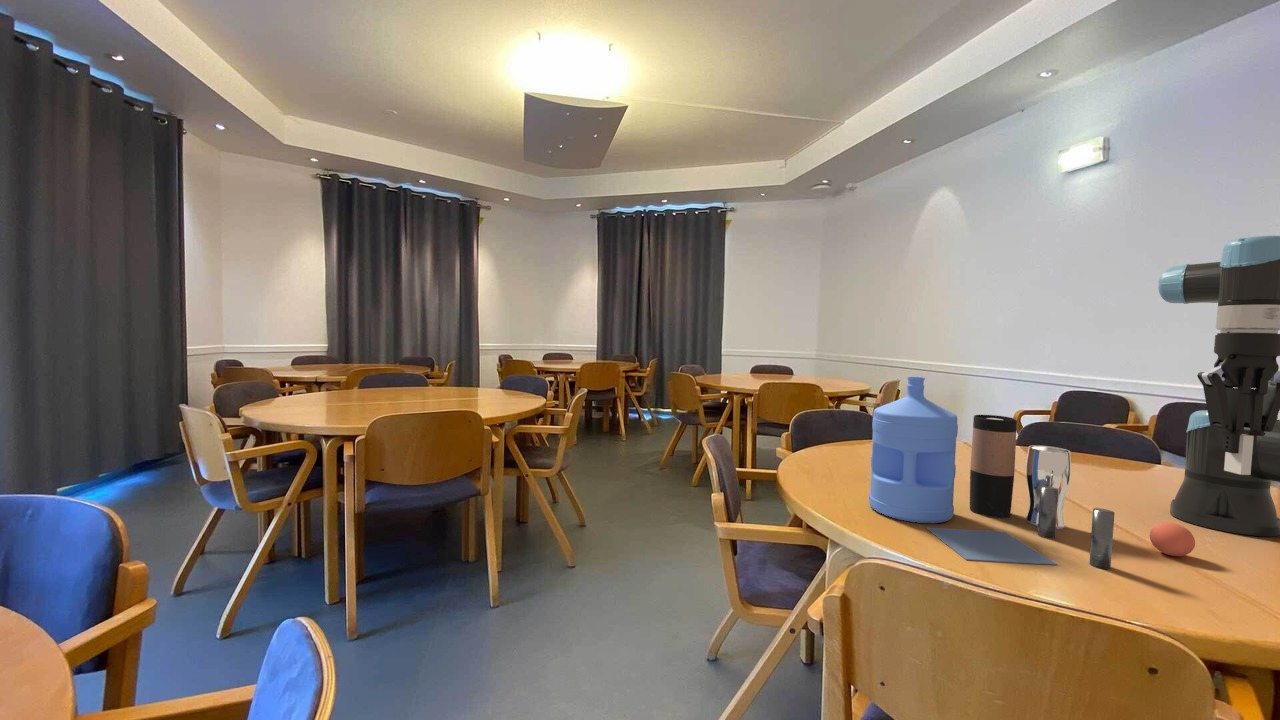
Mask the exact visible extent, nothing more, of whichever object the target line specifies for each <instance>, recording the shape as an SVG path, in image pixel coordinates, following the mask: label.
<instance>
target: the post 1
mask: <svg viewBox="0 0 1280 720" xmlns="http://www.w3.org/2000/svg"><path fill="white" fill-rule="evenodd" d="M1057 502H1058V489H1057V488H1054V487H1049V486H1041V487H1040V503H1039V519H1038V527H1037V536H1039V537H1041V538H1043V539H1044V538H1045V539H1051V540H1054V539H1056V533H1057V530H1056V518H1057Z"/></svg>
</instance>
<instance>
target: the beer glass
mask: <svg viewBox="0 0 1280 720" xmlns="http://www.w3.org/2000/svg"><path fill="white" fill-rule="evenodd" d="M1027 448H1028V449H1027V456H1026V462H1025V480H1026V486H1027V487H1026V488H1027V493H1028V508H1027V512H1026V514H1025V515H1026V516H1025V522H1026V523H1027V524H1029V525H1031V526H1034V527H1037V528H1038V519H1039V503H1040V487H1041V486H1049V487H1054V488H1057V489H1058V502H1057V518H1056V531H1057V530H1063V529H1064V528H1065V521H1064V513H1063V509H1064V503H1065V500H1066V497H1067V493H1068V490H1069V486H1070V481H1071V474H1072V473H1071V472H1072V471H1071V470H1072V469H1071V468H1072V461H1071V460H1072V459H1071V451H1070V450H1068V449H1066V448H1061V447H1056V446H1048V445H1035V444H1034V445H1029V446H1028V447H1027Z"/></svg>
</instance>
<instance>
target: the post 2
mask: <svg viewBox="0 0 1280 720" xmlns="http://www.w3.org/2000/svg"><path fill="white" fill-rule="evenodd" d="M1091 522H1092V523H1091V532H1090V533H1091V534H1090V549H1089V551H1090V552H1089V565H1090V566H1092V567H1094V568H1097V569H1101V570H1111V567H1112V556H1113V555H1112V554H1113V543H1114V542H1113V541H1114V540H1113V539H1114V525H1115V512H1114V511H1113V510H1110V509H1106V508H1100V507H1093V508H1092V517H1091Z"/></svg>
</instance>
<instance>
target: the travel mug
mask: <svg viewBox="0 0 1280 720" xmlns="http://www.w3.org/2000/svg"><path fill="white" fill-rule="evenodd" d="M972 421H973V424H972V436H971V437H972V439H971V440H972V441H971V452H970V454H971V455H970V468H969V469H970V471H969V510H970V511H971V512H972V513H974V514H977V515H981V516H984V517H990V518H996V519H997V518H998V519H1006V518H1010V517H1011V512H1012V511H1011V510H1012V502H1013V493H1014V492H1013V491H1014V483H1015V482H1014V481H1015V470H1016V468H1015V467H1016V448H1017V446H1016V445H1017V425H1018V420H1016V418H1013V417H1010V416H1004V415H995V414H975V415H973V420H972Z"/></svg>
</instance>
